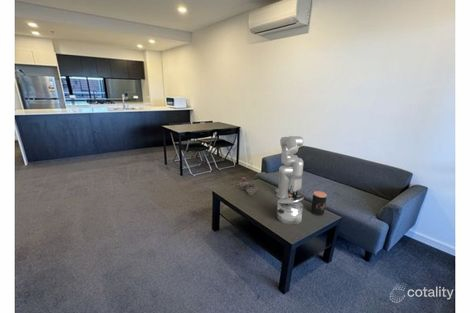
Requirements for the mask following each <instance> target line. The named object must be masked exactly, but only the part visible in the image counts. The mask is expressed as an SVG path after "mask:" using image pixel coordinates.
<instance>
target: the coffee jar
mask: <svg viewBox="0 0 470 313" xmlns="http://www.w3.org/2000/svg"><path fill="white" fill-rule="evenodd" d="M327 195H328V194H327V193H325V192H324V191H320V190H319V191H318V190H316V191H313V195H312V201H311V207H310V208H311V209H310V212H311V214H313V215H314V214H315V216H318V215H321V216H323V215H324V214H325V208H326V204H327Z"/></svg>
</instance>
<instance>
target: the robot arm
mask: <svg viewBox="0 0 470 313" xmlns="http://www.w3.org/2000/svg"><path fill="white" fill-rule="evenodd" d="M279 142H280V148H281V155H280V156H281V158H280V161H281V164H283V165H280V167H278V168H279V169H278V174H279V176H278V177H279V178H278V188H276V189H275V192H276V194H275V196H276V197H277V198H278V199H280V198H283V197H287V196H288V194H289V191H290V194H291V196H292V198H295V197H297V195H299V191H300V190H301V189H302V184H303V170H304V160H303V159H302V158H301V157H298V155H296V154H297V153H298V151H299V147H302V146H303V145H304V138H303V137H302V136H300V135H299V136H298V135H296V136H295V135H291V136H282V137H280V141H279ZM288 176H289V177H291V178H290V179H289V177H288Z"/></svg>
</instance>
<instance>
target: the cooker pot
mask: <svg viewBox="0 0 470 313" xmlns="http://www.w3.org/2000/svg"><path fill="white" fill-rule="evenodd" d="M276 204H277V208H276V218H277V220H278V221H279V222H281V223H283V224H286V225H293V226H294V225H299V224H300V223H301V222H302V220H303V212H304V211H303V210H304V204H303V203H302V202H301V201H299V202H295V203H288V204H280V203H278V202H277V203H276Z"/></svg>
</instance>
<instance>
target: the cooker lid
mask: <svg viewBox="0 0 470 313" xmlns="http://www.w3.org/2000/svg"><path fill="white" fill-rule="evenodd" d="M304 199H305V196H304V195H303V194H300V195H299V194H297V197H295V198H292V193H290V194H289V193H288V196H287V197H283V198H277V200H276V201H277V202H278V203H280V204H288V203H295V202H301V201H304Z"/></svg>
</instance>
